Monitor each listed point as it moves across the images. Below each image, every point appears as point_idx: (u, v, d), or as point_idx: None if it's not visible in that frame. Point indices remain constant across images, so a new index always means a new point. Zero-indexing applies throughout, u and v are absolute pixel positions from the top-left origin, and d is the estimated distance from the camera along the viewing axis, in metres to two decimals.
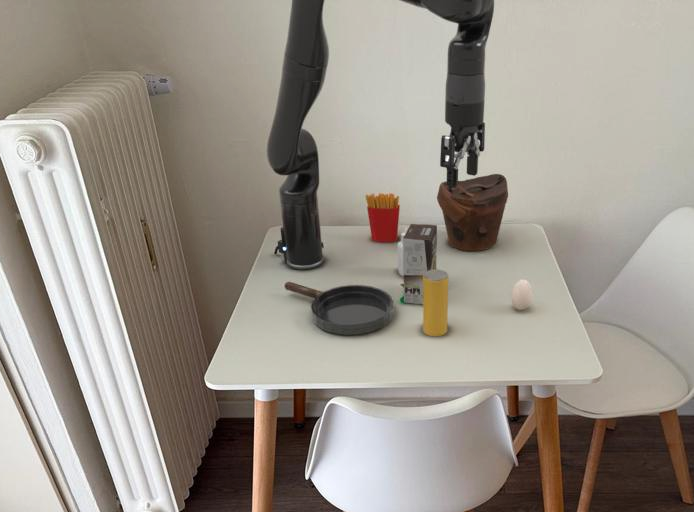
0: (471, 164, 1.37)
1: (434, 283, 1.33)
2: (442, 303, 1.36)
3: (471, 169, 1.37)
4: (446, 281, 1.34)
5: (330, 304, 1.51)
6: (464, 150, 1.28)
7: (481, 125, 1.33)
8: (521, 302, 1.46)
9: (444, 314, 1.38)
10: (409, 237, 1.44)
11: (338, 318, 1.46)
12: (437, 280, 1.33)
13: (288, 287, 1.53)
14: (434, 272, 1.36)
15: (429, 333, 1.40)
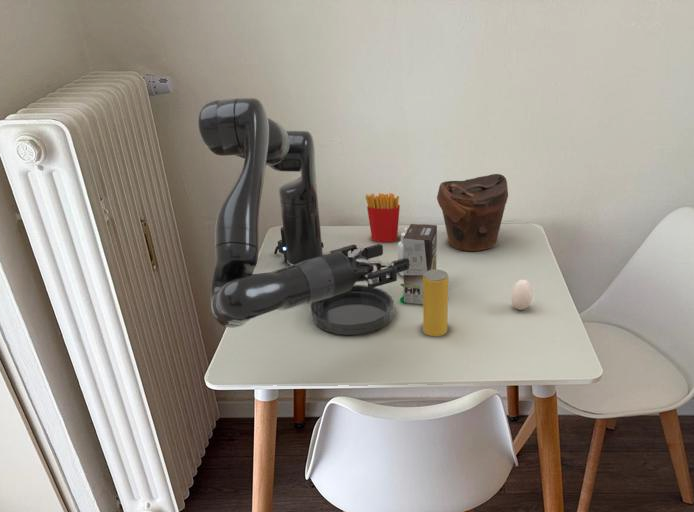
0: None
1: (434, 283, 1.33)
2: (442, 303, 1.36)
3: None
4: (446, 281, 1.34)
5: (330, 304, 1.51)
6: None
7: None
8: (521, 302, 1.46)
9: (444, 314, 1.38)
10: (409, 237, 1.44)
11: (338, 318, 1.46)
12: (437, 280, 1.33)
13: None
14: (434, 272, 1.36)
15: (429, 333, 1.40)
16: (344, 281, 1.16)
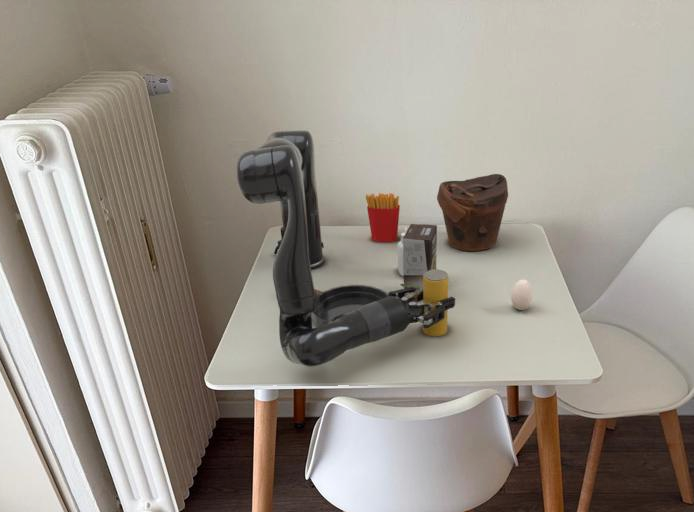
0: None
1: (434, 283, 1.33)
2: None
3: None
4: (446, 281, 1.34)
5: (330, 304, 1.51)
6: None
7: None
8: (521, 302, 1.46)
9: None
10: (409, 237, 1.44)
11: None
12: (437, 280, 1.33)
13: None
14: (434, 272, 1.36)
15: (429, 333, 1.40)
16: (399, 324, 1.30)
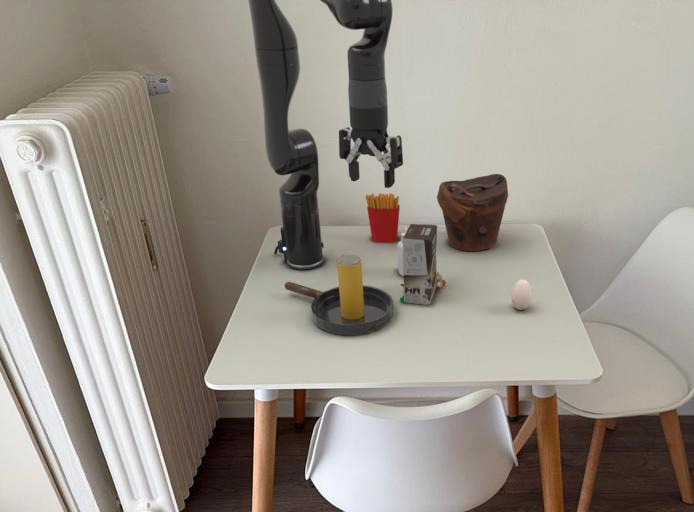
0: None
1: (346, 267, 1.38)
2: (356, 287, 1.41)
3: None
4: (358, 266, 1.39)
5: (330, 304, 1.51)
6: (354, 149, 1.33)
7: None
8: (521, 302, 1.46)
9: (359, 298, 1.43)
10: (409, 237, 1.44)
11: (338, 318, 1.46)
12: (349, 264, 1.38)
13: (288, 287, 1.53)
14: (348, 257, 1.41)
15: (346, 316, 1.45)
16: (384, 117, 1.28)
